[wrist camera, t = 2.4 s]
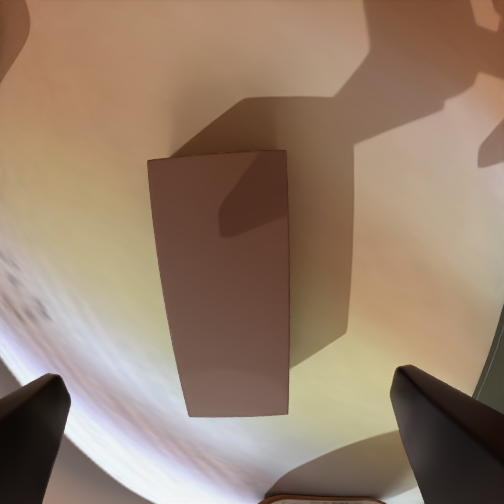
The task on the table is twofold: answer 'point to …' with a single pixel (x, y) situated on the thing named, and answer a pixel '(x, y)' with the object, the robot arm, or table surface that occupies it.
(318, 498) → the tin
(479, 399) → the bin
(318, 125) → the table surface
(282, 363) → the chocolate bar
